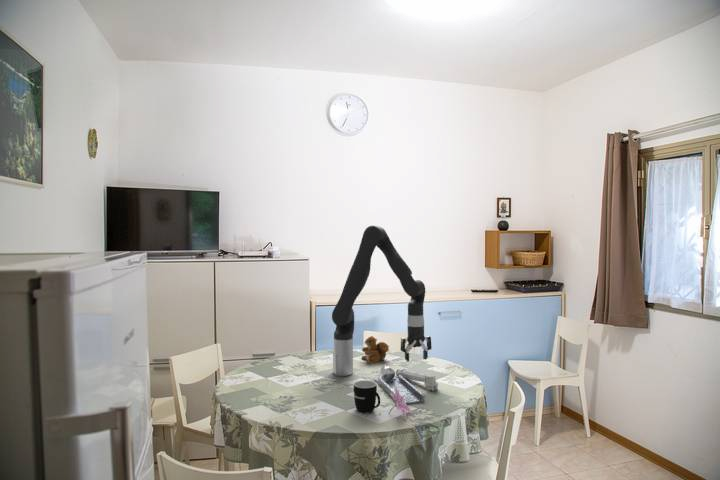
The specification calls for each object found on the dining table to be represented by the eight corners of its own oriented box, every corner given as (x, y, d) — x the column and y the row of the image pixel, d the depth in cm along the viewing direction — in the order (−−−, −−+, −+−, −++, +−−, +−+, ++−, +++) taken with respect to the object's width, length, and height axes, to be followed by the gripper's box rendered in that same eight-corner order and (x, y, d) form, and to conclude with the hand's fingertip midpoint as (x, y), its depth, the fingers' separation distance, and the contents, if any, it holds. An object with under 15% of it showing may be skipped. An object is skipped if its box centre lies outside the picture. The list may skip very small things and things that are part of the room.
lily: (392, 426, 162) (405, 404, 161) (372, 405, 170) (384, 384, 169) (410, 426, 170) (423, 405, 170) (390, 406, 178) (402, 386, 178)
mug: (348, 410, 174) (348, 384, 174) (364, 403, 181) (364, 378, 181) (371, 419, 166) (371, 391, 166) (387, 411, 173) (387, 385, 172)
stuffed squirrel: (360, 359, 245) (360, 335, 245) (384, 357, 249) (384, 333, 249) (365, 364, 236) (365, 339, 235) (390, 362, 239) (390, 337, 239)
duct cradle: (424, 402, 182) (424, 386, 182) (399, 405, 179) (399, 389, 179) (396, 377, 213) (396, 364, 213) (374, 380, 210) (374, 366, 210)
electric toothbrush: (402, 367, 217) (439, 373, 197) (404, 381, 216) (441, 389, 196) (394, 369, 214) (430, 375, 194) (395, 383, 213) (432, 391, 193)
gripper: (426, 321, 210) (427, 356, 210) (398, 324, 206) (398, 359, 206) (433, 324, 203) (434, 360, 203) (404, 327, 199) (404, 363, 199)
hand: (416, 360), depth 205 cm, fingers open, 8 cm apart
